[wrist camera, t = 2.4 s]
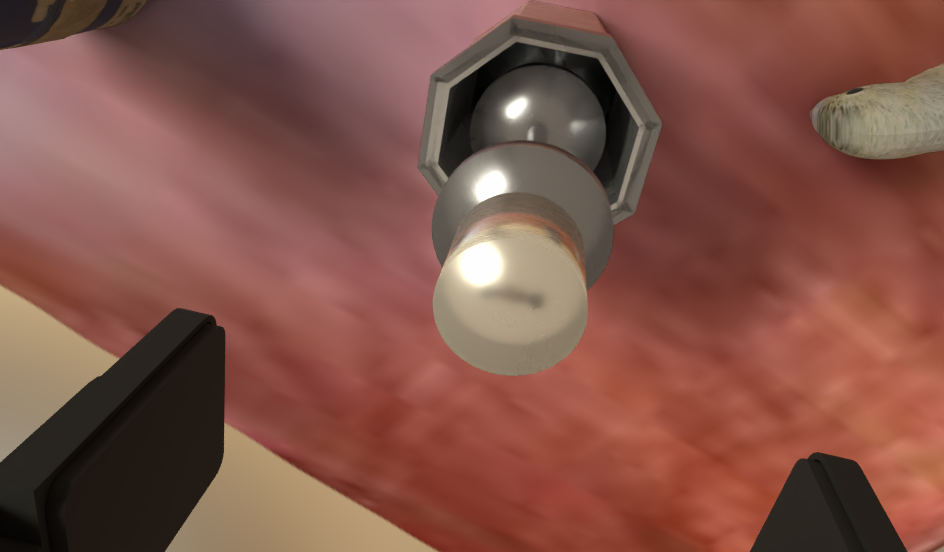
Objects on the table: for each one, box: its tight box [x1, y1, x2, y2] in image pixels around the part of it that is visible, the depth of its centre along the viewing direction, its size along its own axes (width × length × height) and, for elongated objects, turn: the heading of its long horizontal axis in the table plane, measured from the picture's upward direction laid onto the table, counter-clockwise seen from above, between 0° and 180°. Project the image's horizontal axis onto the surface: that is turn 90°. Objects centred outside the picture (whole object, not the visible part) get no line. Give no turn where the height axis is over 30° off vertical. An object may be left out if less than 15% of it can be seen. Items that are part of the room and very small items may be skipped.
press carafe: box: [418, 0, 662, 225], centre depth 33 cm, size 11×9×12 cm
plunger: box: [432, 63, 614, 376], centre depth 22 cm, size 6×6×16 cm
